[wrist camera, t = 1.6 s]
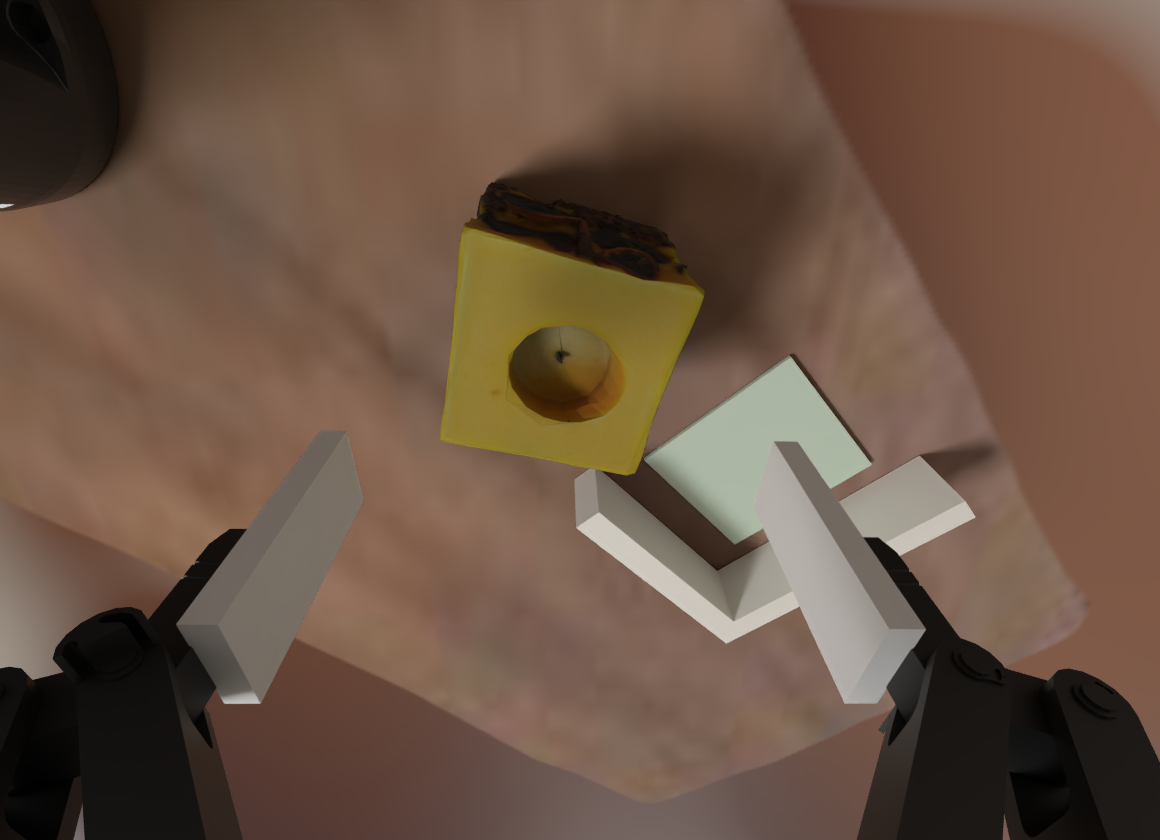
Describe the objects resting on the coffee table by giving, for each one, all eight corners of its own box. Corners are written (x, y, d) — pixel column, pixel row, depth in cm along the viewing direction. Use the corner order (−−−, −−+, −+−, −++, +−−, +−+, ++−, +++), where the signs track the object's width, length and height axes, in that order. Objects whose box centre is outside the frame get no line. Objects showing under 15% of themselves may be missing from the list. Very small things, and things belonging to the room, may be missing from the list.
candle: (488, 178, 26) (454, 216, 18) (669, 227, 28) (715, 282, 20) (464, 351, 32) (428, 442, 23) (617, 383, 33) (635, 480, 25)
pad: (643, 457, 36) (644, 460, 36) (789, 355, 32) (791, 357, 32) (733, 541, 42) (734, 544, 41) (869, 462, 37) (871, 464, 37)
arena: (574, 479, 37) (576, 527, 33) (816, 302, 30) (856, 335, 26) (711, 592, 45) (726, 643, 41) (929, 470, 38) (975, 517, 34)
